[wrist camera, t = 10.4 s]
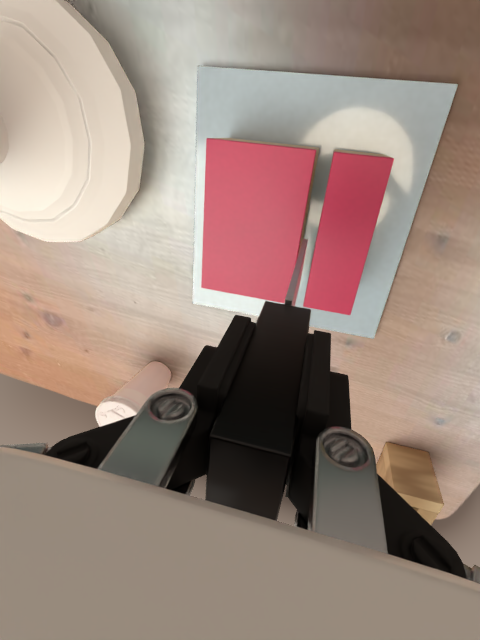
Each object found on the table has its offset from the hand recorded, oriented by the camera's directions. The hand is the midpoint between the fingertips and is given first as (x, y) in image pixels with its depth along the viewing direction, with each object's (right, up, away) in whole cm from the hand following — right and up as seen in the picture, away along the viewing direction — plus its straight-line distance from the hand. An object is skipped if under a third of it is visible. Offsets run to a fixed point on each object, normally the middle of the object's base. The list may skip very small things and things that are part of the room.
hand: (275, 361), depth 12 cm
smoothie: (-12, -6, +35) cm, 37 cm away
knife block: (+19, -17, +32) cm, 41 cm away
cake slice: (+8, +10, +19) cm, 23 cm away
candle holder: (-19, +20, +22) cm, 36 cm away
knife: (+3, +5, +9) cm, 11 cm away
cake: (+1, +12, +21) cm, 24 cm away
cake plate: (+4, +11, +21) cm, 24 cm away
